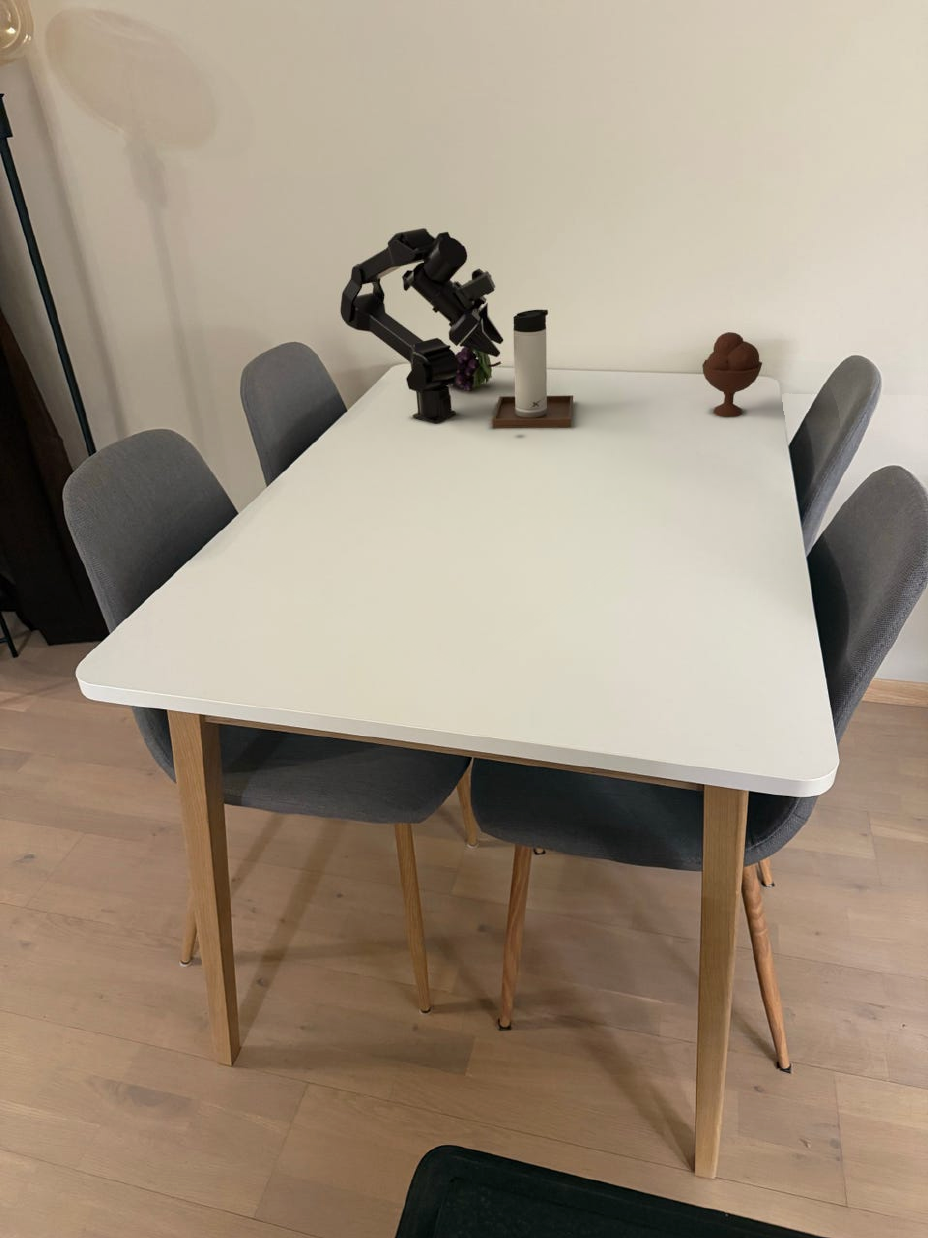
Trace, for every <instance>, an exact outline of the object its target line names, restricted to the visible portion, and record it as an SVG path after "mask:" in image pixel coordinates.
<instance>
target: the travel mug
mask: <svg viewBox="0 0 928 1238" xmlns="http://www.w3.org/2000/svg"><path fill="white" fill-rule="evenodd" d="M548 314H549V310H548V309H529V310H524V311H521V312H518V313H516V315H513V329H512V330H513V361H514V362H513V365H514V366H513V368H514V370H513V371H514V396H515V405H516V406H515V409H516V415H518V416H519V417H523V418H538V417H541V416H544V415H545V414H546V413H547V396H548V385H547V384H548V379H547V378H548V377H547V376H548V373H547V371H548V370H547V369H548V368H547V367H548V365H547V363H548V361H547V359H548V358H547V355H548V354H547V316H548Z"/></svg>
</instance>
